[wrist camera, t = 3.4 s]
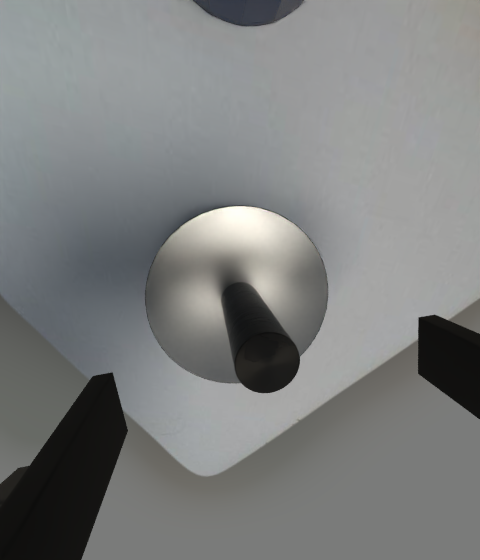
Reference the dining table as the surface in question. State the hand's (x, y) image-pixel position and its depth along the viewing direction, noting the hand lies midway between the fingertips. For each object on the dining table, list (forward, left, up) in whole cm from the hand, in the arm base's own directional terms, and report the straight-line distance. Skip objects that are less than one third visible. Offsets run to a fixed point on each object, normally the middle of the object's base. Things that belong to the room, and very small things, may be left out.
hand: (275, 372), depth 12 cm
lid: (0, 0, -11) cm, 11 cm away
